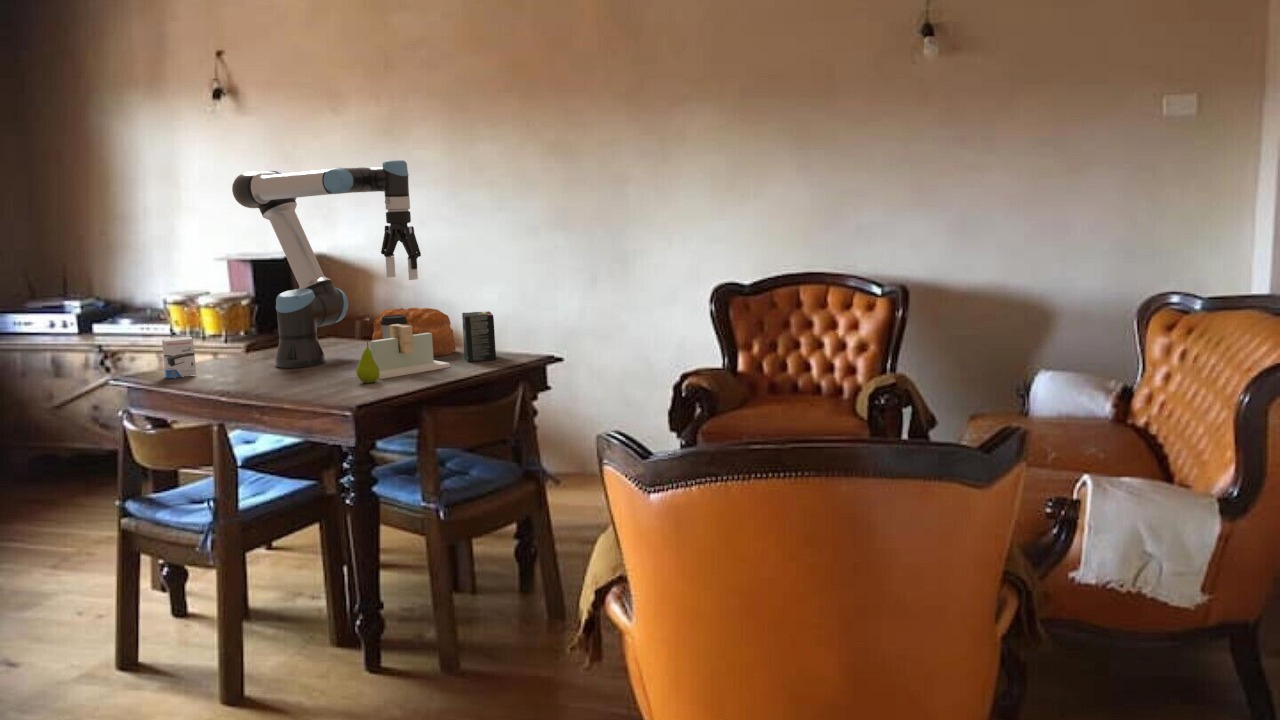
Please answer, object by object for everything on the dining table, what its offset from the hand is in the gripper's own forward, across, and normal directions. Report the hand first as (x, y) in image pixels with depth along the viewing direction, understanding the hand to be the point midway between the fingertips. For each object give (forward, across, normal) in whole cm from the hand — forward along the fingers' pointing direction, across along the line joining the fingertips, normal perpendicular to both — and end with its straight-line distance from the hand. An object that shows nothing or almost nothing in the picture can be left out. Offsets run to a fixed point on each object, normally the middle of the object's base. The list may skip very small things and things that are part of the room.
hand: (402, 278), depth 347 cm
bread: (+27, -11, +9) cm, 30 cm away
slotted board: (+26, +14, -10) cm, 31 cm away
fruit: (+26, +24, -26) cm, 44 cm away
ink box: (+27, -31, -60) cm, 73 cm away
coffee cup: (+27, +2, -5) cm, 27 cm away
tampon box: (+26, +16, +17) cm, 35 cm away
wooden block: (+21, +14, -10) cm, 27 cm away
